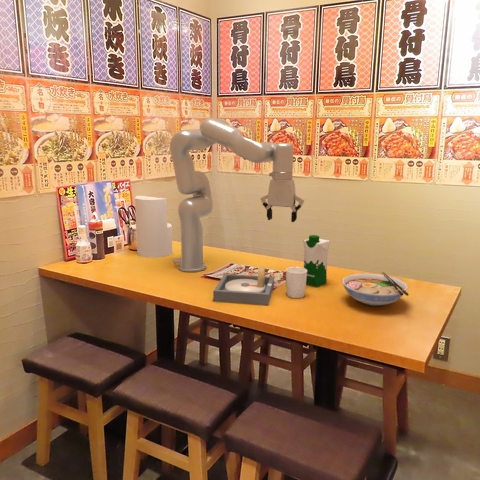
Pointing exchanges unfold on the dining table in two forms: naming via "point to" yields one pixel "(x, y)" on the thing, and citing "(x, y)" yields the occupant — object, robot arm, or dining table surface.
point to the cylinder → (152, 227)
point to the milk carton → (316, 260)
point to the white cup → (296, 281)
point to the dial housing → (242, 296)
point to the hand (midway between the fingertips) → (281, 220)
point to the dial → (248, 283)
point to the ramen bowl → (374, 288)
